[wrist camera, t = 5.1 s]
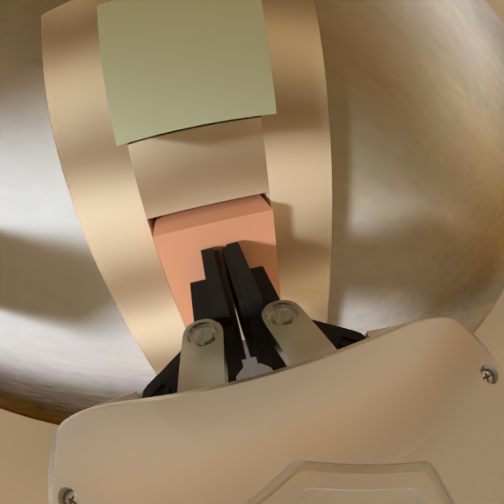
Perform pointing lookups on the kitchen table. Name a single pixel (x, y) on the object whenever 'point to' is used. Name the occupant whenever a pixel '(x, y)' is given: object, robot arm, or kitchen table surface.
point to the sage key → (183, 64)
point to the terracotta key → (214, 242)
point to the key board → (193, 169)
